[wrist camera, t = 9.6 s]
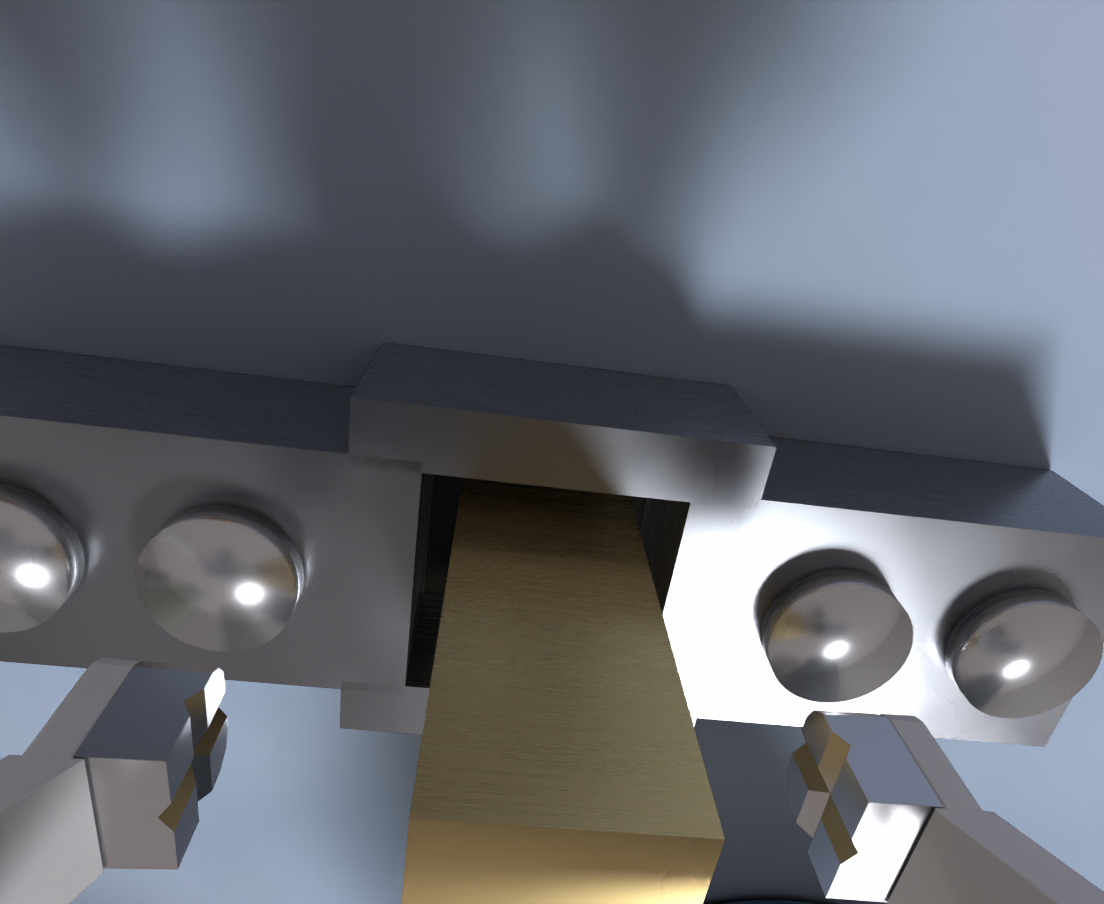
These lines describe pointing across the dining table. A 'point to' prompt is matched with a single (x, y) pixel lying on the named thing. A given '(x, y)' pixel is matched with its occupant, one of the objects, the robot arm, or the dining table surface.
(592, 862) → the gold rectangular block
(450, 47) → the dining table surface
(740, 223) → the dining table surface
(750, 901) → the canister
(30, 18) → the dining table surface
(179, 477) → the silver studded bar
